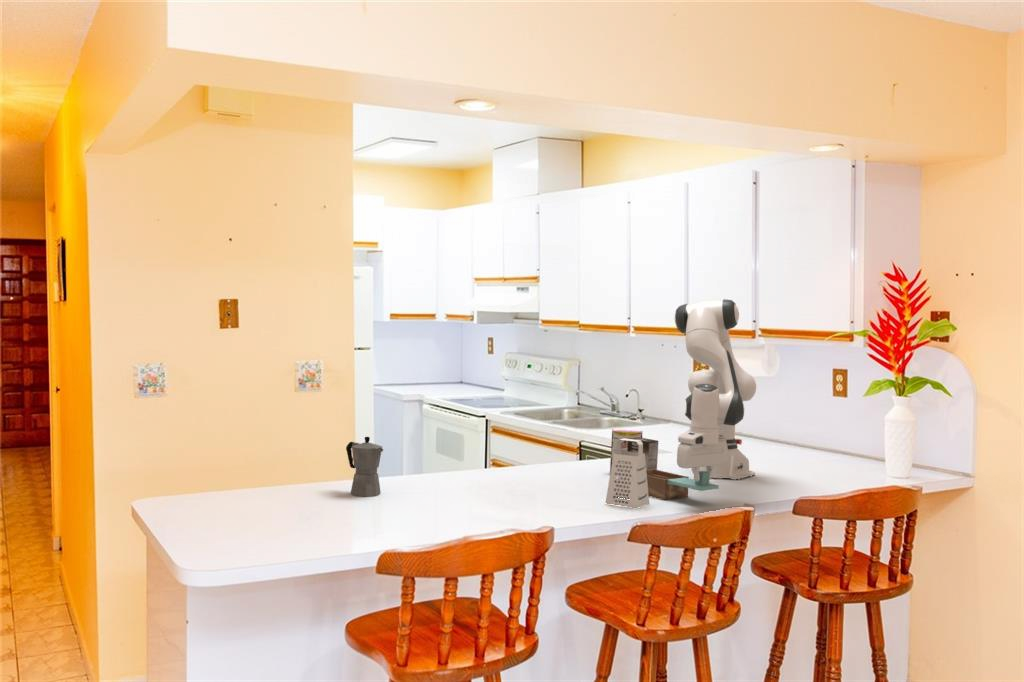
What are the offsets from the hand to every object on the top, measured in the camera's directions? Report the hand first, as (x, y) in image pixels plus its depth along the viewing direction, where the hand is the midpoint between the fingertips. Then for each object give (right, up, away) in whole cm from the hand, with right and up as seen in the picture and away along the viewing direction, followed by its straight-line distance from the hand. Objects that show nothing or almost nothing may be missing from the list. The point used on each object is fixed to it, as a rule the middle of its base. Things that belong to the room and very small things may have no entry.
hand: (702, 480), depth 284 cm
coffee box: (-15, -6, +29) cm, 33 cm away
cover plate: (-2, -2, +3) cm, 5 cm away
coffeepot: (-106, -4, 0) cm, 106 cm away
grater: (-24, -7, -2) cm, 25 cm away
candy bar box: (-18, -6, +48) cm, 51 cm away
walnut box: (-11, -7, +15) cm, 20 cm away
